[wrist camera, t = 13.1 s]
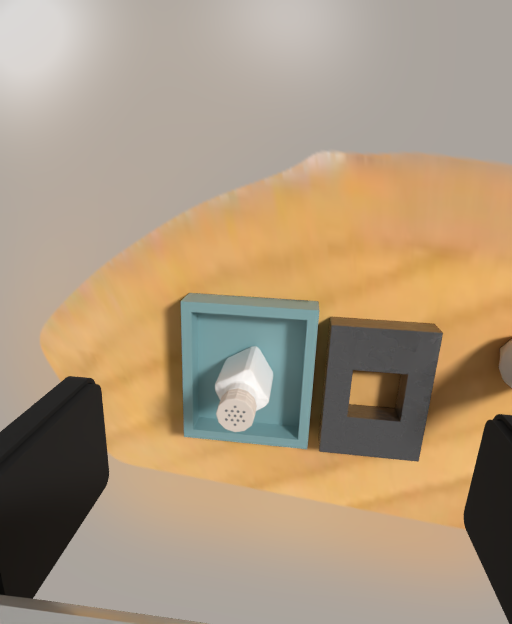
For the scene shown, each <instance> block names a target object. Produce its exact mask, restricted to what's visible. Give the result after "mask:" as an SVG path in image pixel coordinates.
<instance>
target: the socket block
mask: <svg viewBox="0 0 512 624" xmlns="http://www.w3.org/2000/svg"><path fill="white" fill-rule="evenodd" d="M442 335H443V332H442V331H441V330H440V329H439V328H438V327H437V326H436V325H435V324H430V323H415V322H400V321H386V320H371V319H357V318H342V317H330V324H329V335H328V345H327V356H326V366H325V376H324V387H323V397H322V407H321V418H320V428H319V451H320V452H330V453H340V454H349V455H359V456H369V457H379V458H389V459H399V460H409V461H418V462H419V456H420V451H421V446H422V440H423V435H424V430H425V425H426V419H427V414H428V409H429V404H430V398H431V393H432V388H433V383H434V377H435V372H436V367H437V362H438V356H439V351H440V346H441V341H442ZM353 370H360V371H372V372H385V373H397V374H401V376H400V382H399V388H398V394H397V400H396V407H395V408H385V407H374V406H362V405H351V404H349V397H350V389H351V381H352V372H353Z"/></svg>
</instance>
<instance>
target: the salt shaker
mask: <svg viewBox="0 0 512 624" xmlns="http://www.w3.org/2000/svg"><path fill="white" fill-rule="evenodd" d="M499 370H500V373H501V376H502V379H503V380H504V382H505V383H506V384H507V385H509V386H510V387H511V388H512V339H511V340H509V341H508V342H507V343H506V344H505V345H504V346H502V347H501V348H500V361H499Z"/></svg>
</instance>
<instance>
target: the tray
mask: <svg viewBox="0 0 512 624" xmlns="http://www.w3.org/2000/svg"><path fill="white" fill-rule="evenodd" d="M318 319H319V303H318V301H305V300H290V299H274V298H259V297H244V296H228V295H213V294H198V293H189V294H188V295H187V296H186V297H185V298H184V299H183V300H181V333H182V373H183V414H184V437H192V438H202V439H212V440H222V441H232V442H242V443H252V444H261V445H271V446H281V447H291V448H301V449H307V446H308V434H309V423H310V411H311V400H312V388H313V377H314V365H315V354H316V342H317V331H318ZM253 346H257V347H258V348H259V349H260V350H261V352H262V354H263V356H264V357H265V359H266V361H267V363H268V364H269V366H270V368H271V370H272V371H273V381H272V387H271V393H270V399H269V402H268V404H267V405H266V406H265V407H263V408H261V409H259V410H257V411H256V413H255V417H254V420H253V423H252V425H251V426H250V427H249V428H248V429H246V430H245V431H240V432H233V431H230V430H226V429H225V428H224V427H223V426H222V425H221V424H220V423H219V422H218V419H217V415H216V412H217V409H218V405H219V403H220V399H219V397H218V395H217V393H216V391H215V383H216V381H217V379H218V376H219V374H220V372H221V370H222V367H223V365H224V363H225V361H226V360H227V358H229V357H231V356H233V355H235V354H237V353H239V352H241V351H244V350H246V349H248V348H250V347H253Z"/></svg>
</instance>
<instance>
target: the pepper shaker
mask: <svg viewBox="0 0 512 624" xmlns="http://www.w3.org/2000/svg"><path fill="white" fill-rule="evenodd" d="M272 381H273V371H272V370H271V368H270V366H269V364H268V363H267V361H266V359H265V357H264V356H263V354H262V352H261V350H260V349H259V348H258V347H257V346H253V347H250V348H248V349H246V350H244V351H241V352H239V353H237V354H235V355H233V356H231V357H229V358H227V360H226V361H225V363H224V365H223V367H222V370H221V372H220V374H219V376H218V379H217V381H216V383H215V391H216V393H217V395H218V397H219V399H220V403H219V405H218V409H217V412H216V415H217V419H218V422H219V423H220V424H221V425H222V426H223V427H224V428H225V429H226V430H230V431H233V432H240V431H245V430H246V429H248V428H249V427H250V426H251V425H252V423H253V420H254V417H255V413H256V411H257V410H259V409H261V408H263V407H265V406H266V405H267V404H268V402H269V399H270V393H271V387H272Z"/></svg>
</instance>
